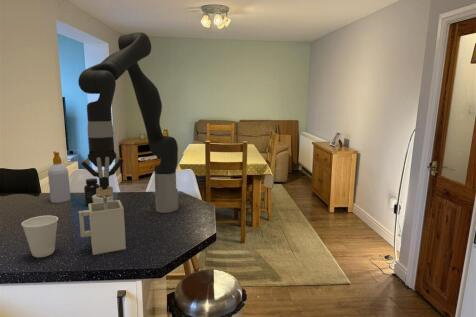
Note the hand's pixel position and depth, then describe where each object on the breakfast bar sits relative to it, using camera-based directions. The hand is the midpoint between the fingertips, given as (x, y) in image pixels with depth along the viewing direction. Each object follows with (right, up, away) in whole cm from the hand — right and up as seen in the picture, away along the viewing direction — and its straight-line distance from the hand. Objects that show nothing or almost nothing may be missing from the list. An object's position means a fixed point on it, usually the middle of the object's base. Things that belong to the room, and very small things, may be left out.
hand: (104, 188), depth 106 cm
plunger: (0, -18, +3) cm, 19 cm away
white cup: (-12, -15, +29) cm, 35 cm away
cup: (-18, -21, -2) cm, 28 cm away
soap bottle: (-43, -11, +53) cm, 69 cm away
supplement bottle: (-25, -12, +47) cm, 55 cm away
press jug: (-2, -20, +3) cm, 20 cm away
